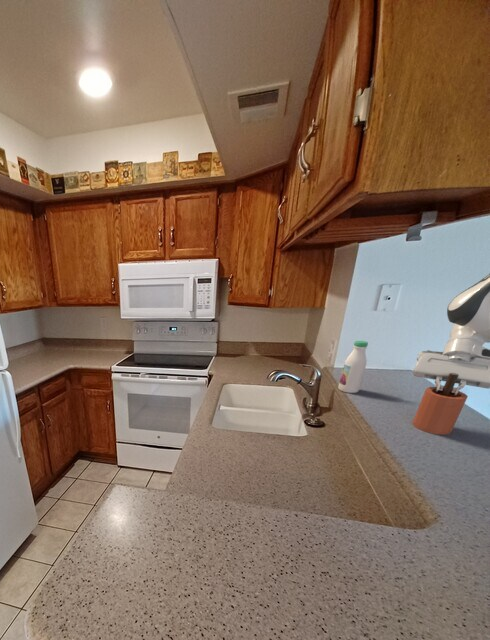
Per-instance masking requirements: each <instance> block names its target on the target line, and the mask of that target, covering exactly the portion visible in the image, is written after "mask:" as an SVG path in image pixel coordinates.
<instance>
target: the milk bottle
mask: <svg viewBox="0 0 490 640" xmlns="http://www.w3.org/2000/svg"><path fill="white" fill-rule="evenodd" d="M368 346H369V342H368V341H365V340H355V341H354V343H353V349H352V351H351V352H350V354H349V355H348V356H347V357H346V359H345V361H344V365H343V368H342V372H341V375H340V380H339V382H338V387H337V388H338V390H339V391H341V392H344V393H350V394H356V393H358V392H359V391H360V388H361V385H362V382H363V379H364V378H363V377H364V374H365V371H366V366H367V356H366V349H368Z"/></svg>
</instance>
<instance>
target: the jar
mask: <svg viewBox="0 0 490 640" xmlns="http://www.w3.org/2000/svg"><path fill="white" fill-rule="evenodd" d="M436 389H437V387H436V386H430V387H426V388H425V391H424V393H423V396H422V398H421V400H420V403H419V405H418V408H417V410H416V413H415V416H414V418H413V420H412V425H413V427H415V428H416V429H418V430H420V431H422V432H426V433H429V434H433V435H440V436H441V435H443V436H444V435H449V434H451V433H452V432H453V430H454V427H455V425H456V423H457V421H458V418H459V416H460V415H461V412H462V410H463V408H464V406H465V404H466V402H467V399H468V394H466V393H465V392H462V391H461V390H459V391H458V393H457V395H450V396H449V397H447V396H442V395H441V393H440V392H436Z"/></svg>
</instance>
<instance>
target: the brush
mask: <svg viewBox="0 0 490 640" xmlns="http://www.w3.org/2000/svg"><path fill="white" fill-rule="evenodd" d="M458 376H459V374H456V373H450V374H449V376H448V378H447V381H445V383H444V385H443V386H444V388H443V391H442V393H441V395H442V396H447V397H449V396H450V394H451V391H452V389H453V387H454V388H455V385H456V383H455V382H456V380H457V378H458Z"/></svg>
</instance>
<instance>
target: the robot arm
mask: <svg viewBox="0 0 490 640" xmlns="http://www.w3.org/2000/svg"><path fill="white" fill-rule="evenodd" d="M446 316H447V319H448V321H449V322H450V323H452V327H451V330H450V332H449V339H448V340H447V342H446V343H445V346H444V348H443V351H436V350H435V351H434V350H429V349H427V350H424V351H420V352H419V353H418V354H417V357H416V361H417V362H416V363H415V365H414V368H413V370H412V375H413V376H414V377H416V378H423V379H429V380H434V385H435V387H437V389H436V392H440V393H442V391H443V388H444V385H442V383H441V382H446V381H447V378H448V376H449V374H450V373H456V374H459V376H458V378H457V380H456V382H455V384H458V386H457V387H455V386H454V387H453V389H452V391H451V394H450V395H457V393H458V391H461V390H462V389H463V388H465V386H469V387H477V388H482V389H490V348H487V347H486V346H485V347H484V346H483V345H484V344H485V343H489V344H490V273H488V274H487V275H486V276H484V277H483V278H482V279H480V280H479V281H478V282H476V283H475V284H473V285H471V286H470V287H468V288H467V289H464V290H463V291H461V292H460V293H459V294H457V295H456V296H455V297H453V299H452V300H451V301H450V302H449V304H448V305H447V309H446Z"/></svg>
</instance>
